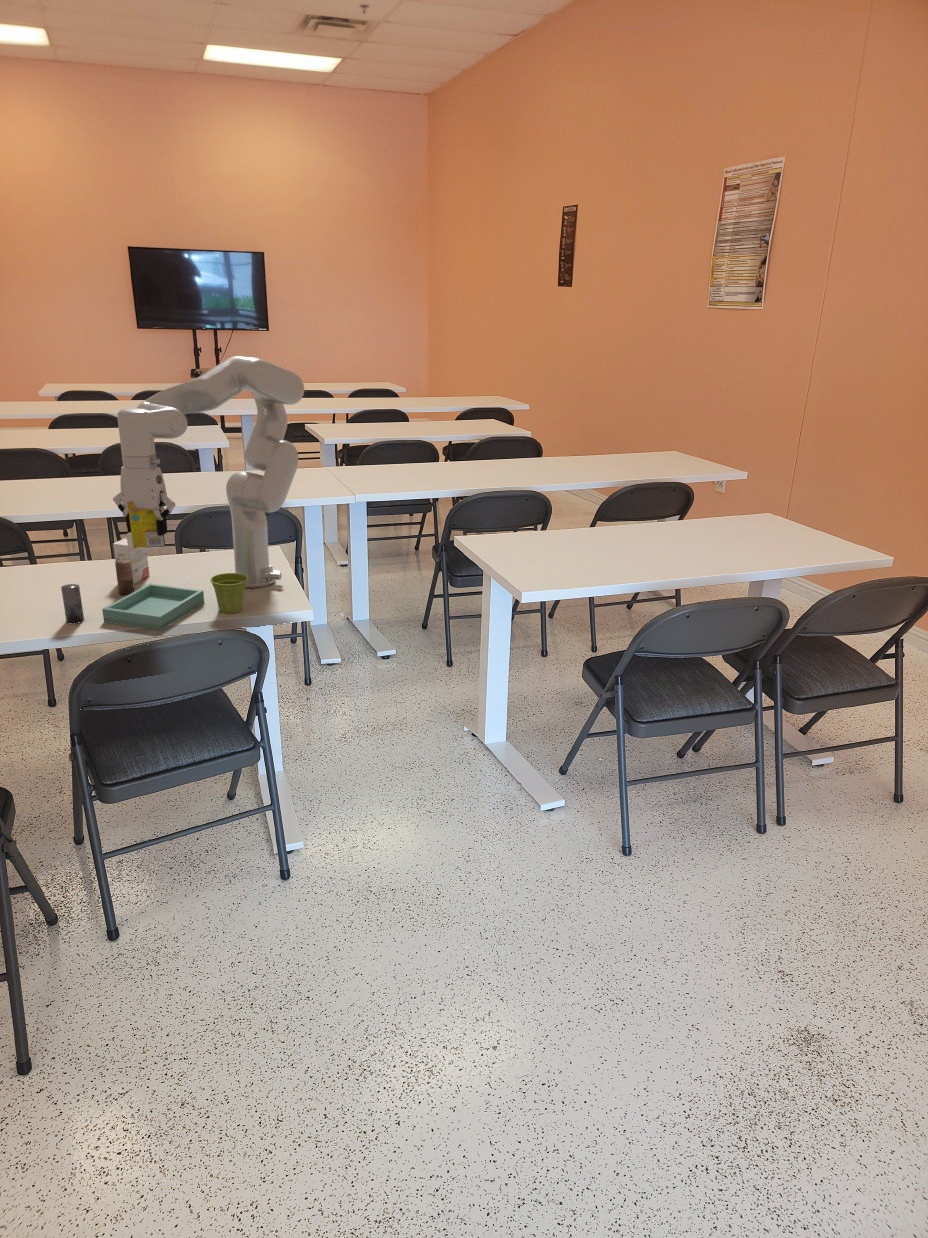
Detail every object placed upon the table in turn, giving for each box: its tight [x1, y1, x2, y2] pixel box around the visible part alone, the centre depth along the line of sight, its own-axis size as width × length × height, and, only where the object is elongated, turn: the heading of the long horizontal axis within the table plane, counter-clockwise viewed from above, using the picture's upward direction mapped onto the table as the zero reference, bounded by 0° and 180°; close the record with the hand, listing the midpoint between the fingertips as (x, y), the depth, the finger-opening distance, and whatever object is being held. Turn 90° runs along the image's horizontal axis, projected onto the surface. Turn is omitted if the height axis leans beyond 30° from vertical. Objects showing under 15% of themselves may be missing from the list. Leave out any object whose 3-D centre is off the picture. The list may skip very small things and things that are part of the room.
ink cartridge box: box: [112, 532, 150, 585], centre depth 225 cm, size 9×5×15 cm, turn 168°
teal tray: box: [101, 583, 205, 631], centre depth 205 cm, size 16×20×4 cm
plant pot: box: [209, 572, 248, 614], centre depth 208 cm, size 9×9×9 cm
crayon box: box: [128, 502, 166, 548], centre depth 197 cm, size 7×3×12 cm, turn 106°
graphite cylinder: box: [60, 583, 85, 624], centre depth 197 cm, size 4×4×9 cm
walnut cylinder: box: [114, 560, 136, 597], centre depth 216 cm, size 4×4×9 cm
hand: (147, 532), depth 198 cm, fingers closed on crayon box, 7 cm apart
